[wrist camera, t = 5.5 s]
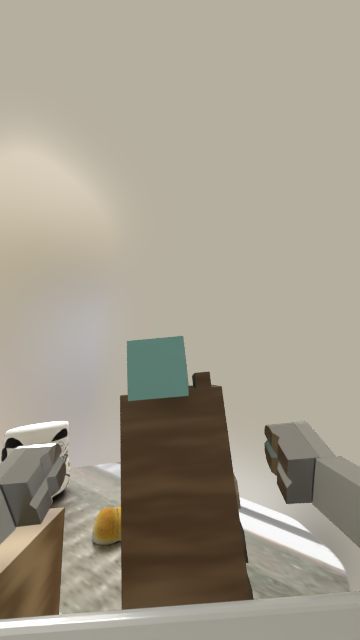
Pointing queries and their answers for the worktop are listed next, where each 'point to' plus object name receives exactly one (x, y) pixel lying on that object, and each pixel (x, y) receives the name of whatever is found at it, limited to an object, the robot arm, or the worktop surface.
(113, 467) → the worktop surface
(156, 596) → the button stand
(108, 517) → the bread roll
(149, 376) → the long teal plank
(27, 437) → the milk container
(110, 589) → the worktop surface
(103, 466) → the worktop surface
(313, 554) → the worktop surface
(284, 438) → the robot arm
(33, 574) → the oak block
